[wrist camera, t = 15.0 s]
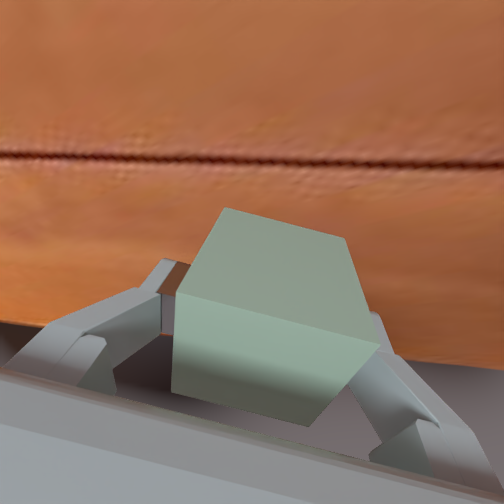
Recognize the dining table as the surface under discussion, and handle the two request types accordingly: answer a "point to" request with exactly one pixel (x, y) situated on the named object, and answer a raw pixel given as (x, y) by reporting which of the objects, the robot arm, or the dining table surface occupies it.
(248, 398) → the sage cube
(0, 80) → the dining table surface
